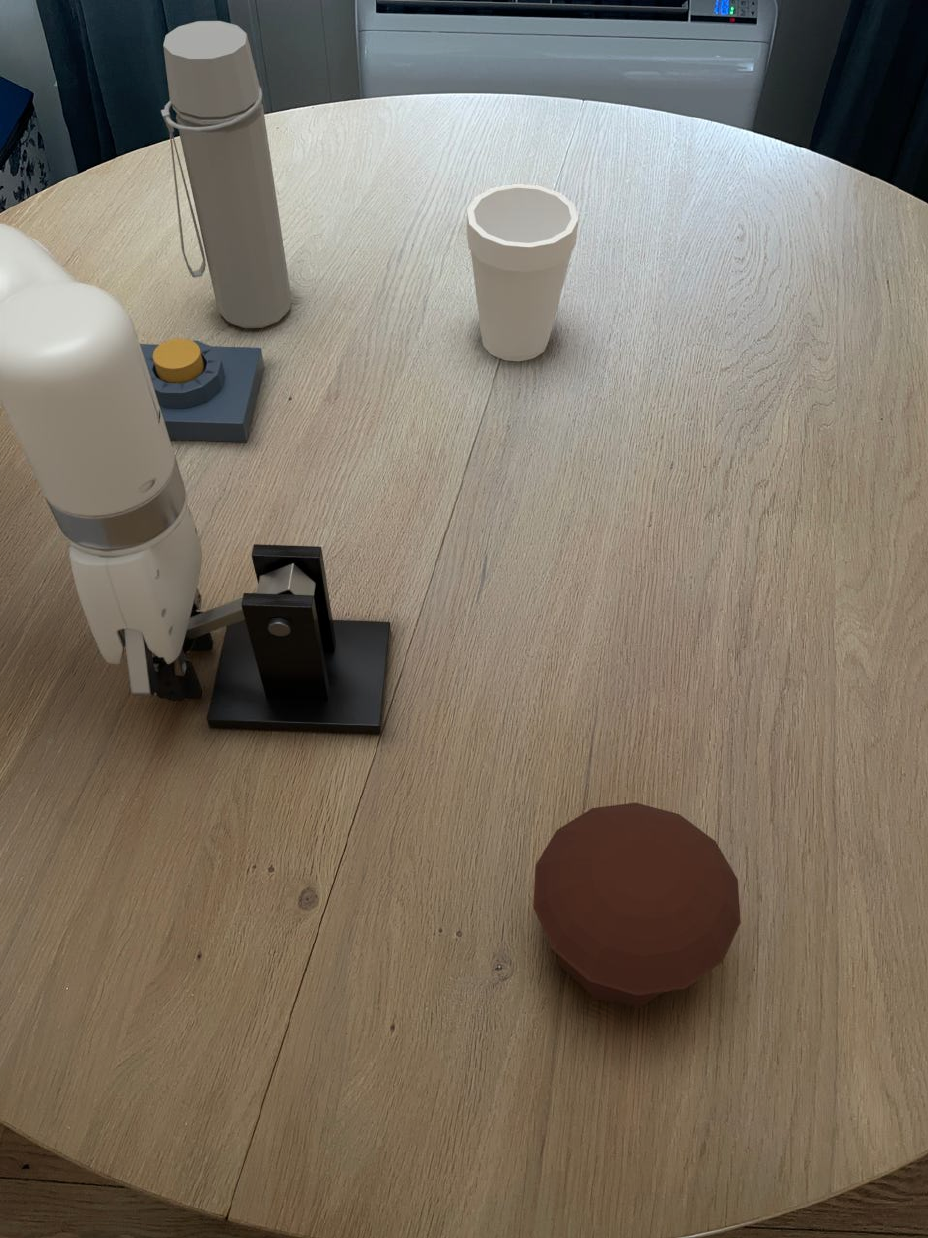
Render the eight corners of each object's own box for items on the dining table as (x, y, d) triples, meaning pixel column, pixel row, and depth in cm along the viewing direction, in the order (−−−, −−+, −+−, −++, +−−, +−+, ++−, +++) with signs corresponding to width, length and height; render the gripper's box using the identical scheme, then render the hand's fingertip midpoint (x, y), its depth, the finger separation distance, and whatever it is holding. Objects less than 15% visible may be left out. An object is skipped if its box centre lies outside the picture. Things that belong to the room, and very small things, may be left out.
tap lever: (166, 672, 72) (132, 648, 70) (175, 634, 74) (143, 611, 72) (315, 619, 67) (283, 592, 64) (321, 580, 69) (290, 552, 66)
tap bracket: (209, 728, 73) (173, 629, 63) (231, 625, 78) (200, 518, 68) (380, 735, 72) (370, 636, 63) (391, 630, 78) (382, 525, 68)
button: (152, 383, 89) (147, 367, 87) (162, 353, 91) (157, 337, 90) (199, 385, 89) (195, 369, 87) (207, 354, 91) (204, 338, 90)
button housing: (108, 438, 90) (96, 402, 87) (135, 362, 96) (123, 326, 93) (247, 442, 90) (239, 407, 86) (264, 366, 96) (258, 330, 92)
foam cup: (546, 382, 95) (558, 257, 84) (451, 358, 96) (451, 233, 86) (576, 321, 100) (590, 196, 90) (485, 299, 102) (489, 174, 91)
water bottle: (284, 279, 104) (243, 11, 83) (302, 326, 99) (263, 56, 79) (191, 296, 102) (127, 27, 82) (205, 345, 97) (141, 73, 77)
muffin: (690, 839, 68) (722, 765, 60) (741, 1012, 61) (784, 955, 53) (511, 863, 67) (519, 790, 59) (543, 1041, 60) (557, 987, 52)
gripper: (88, 396, 65) (159, 582, 80) (11, 602, 55) (108, 771, 70) (206, 397, 65) (255, 583, 80) (151, 604, 55) (219, 774, 70)
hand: (186, 669), depth 75 cm, fingers open, 3 cm apart
